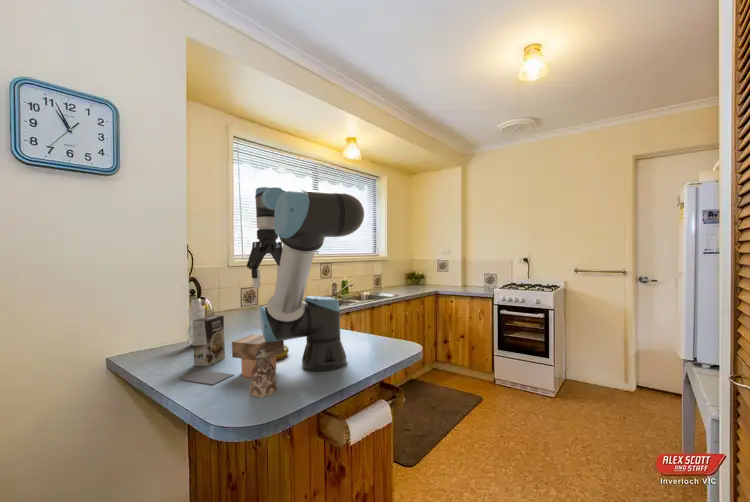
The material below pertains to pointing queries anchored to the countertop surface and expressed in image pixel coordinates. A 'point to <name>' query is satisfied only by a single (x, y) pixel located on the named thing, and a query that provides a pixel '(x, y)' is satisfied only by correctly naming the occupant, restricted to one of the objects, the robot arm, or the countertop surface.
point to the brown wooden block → (255, 347)
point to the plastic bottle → (195, 315)
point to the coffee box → (208, 340)
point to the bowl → (249, 365)
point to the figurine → (263, 375)
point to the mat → (206, 377)
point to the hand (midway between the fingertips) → (269, 285)
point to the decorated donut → (283, 353)
